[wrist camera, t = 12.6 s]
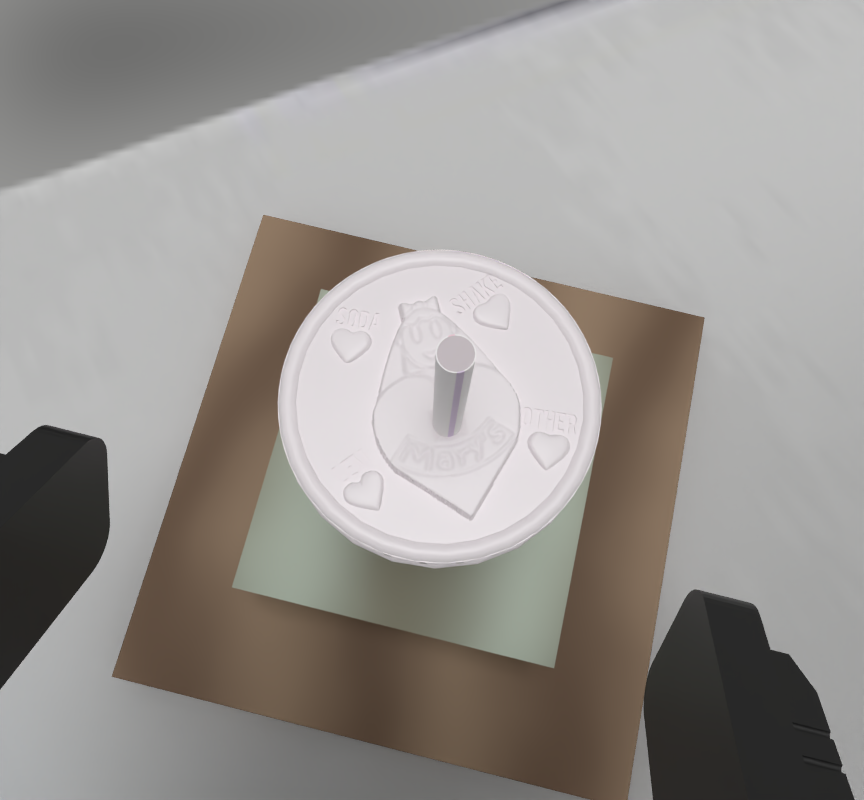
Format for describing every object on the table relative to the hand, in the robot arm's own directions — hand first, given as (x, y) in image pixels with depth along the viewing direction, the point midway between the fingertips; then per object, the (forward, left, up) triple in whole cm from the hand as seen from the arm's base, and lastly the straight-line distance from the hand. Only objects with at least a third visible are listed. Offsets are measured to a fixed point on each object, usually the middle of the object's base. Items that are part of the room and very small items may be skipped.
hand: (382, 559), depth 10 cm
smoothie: (0, -3, -13) cm, 14 cm away
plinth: (0, -4, -18) cm, 19 cm away
